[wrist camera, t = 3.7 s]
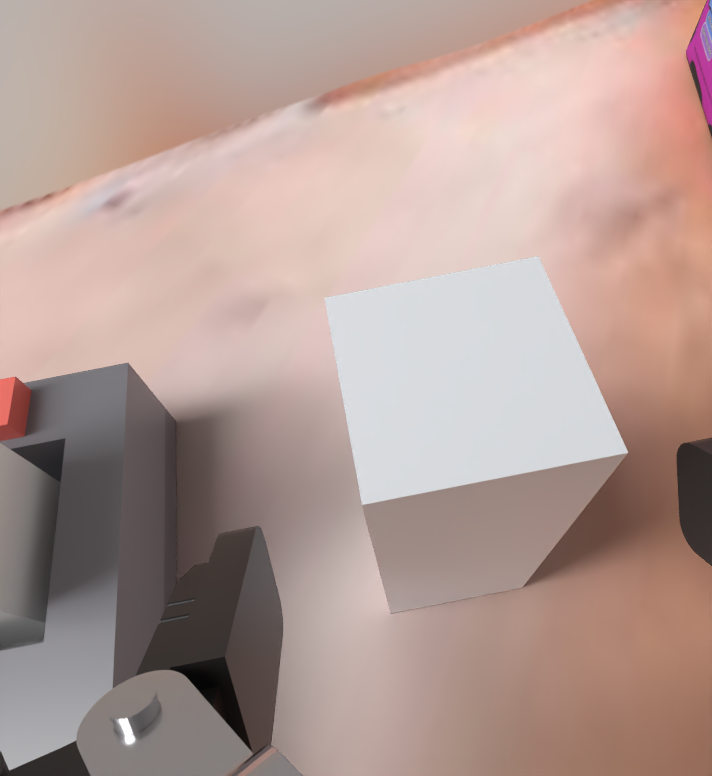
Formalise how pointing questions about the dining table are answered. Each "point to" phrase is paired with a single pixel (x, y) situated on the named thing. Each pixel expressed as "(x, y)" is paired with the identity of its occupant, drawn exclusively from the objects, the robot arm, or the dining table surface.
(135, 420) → the power strip
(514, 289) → the plug
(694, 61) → the candy bar box
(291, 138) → the dining table surface
